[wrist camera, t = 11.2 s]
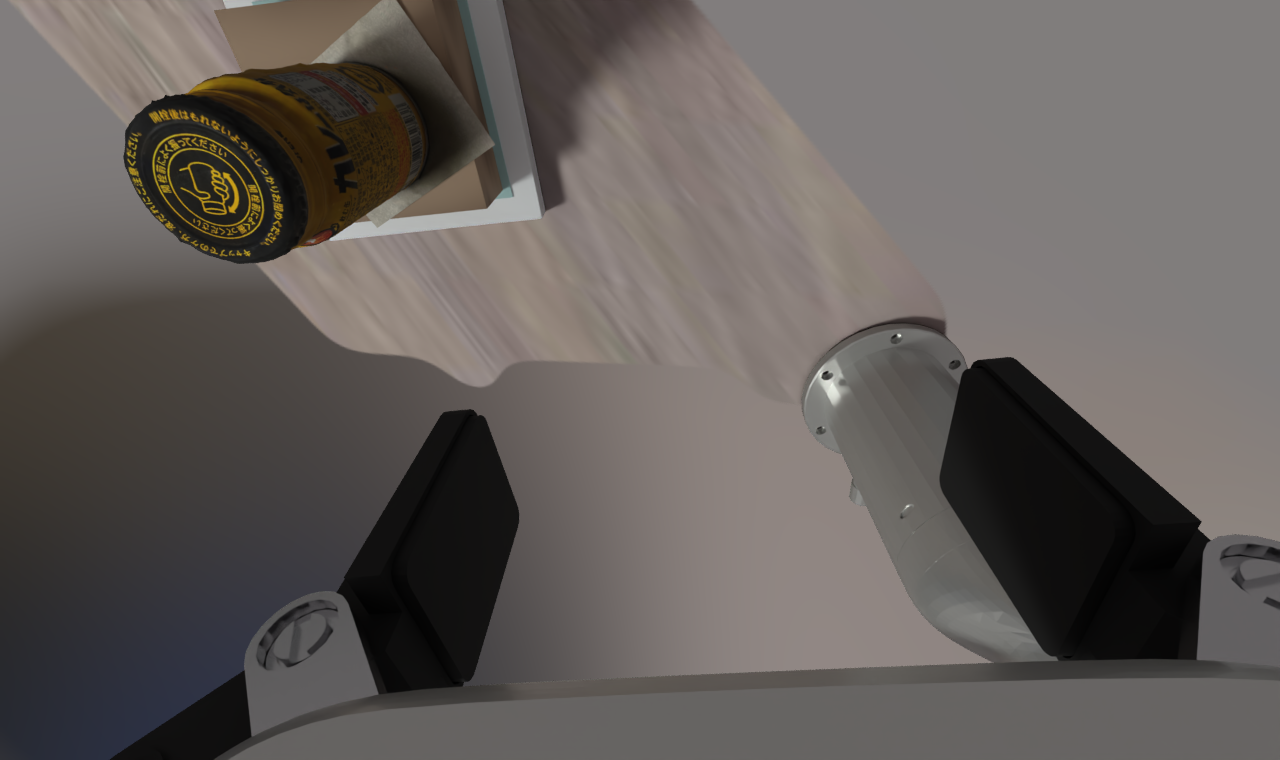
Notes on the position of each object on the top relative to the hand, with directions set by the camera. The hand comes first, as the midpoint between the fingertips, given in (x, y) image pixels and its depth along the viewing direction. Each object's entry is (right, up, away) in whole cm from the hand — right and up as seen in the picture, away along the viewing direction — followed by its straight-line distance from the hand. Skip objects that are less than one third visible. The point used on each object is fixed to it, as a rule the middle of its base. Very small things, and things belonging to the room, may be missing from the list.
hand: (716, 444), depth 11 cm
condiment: (-14, +14, +16) cm, 26 cm away
